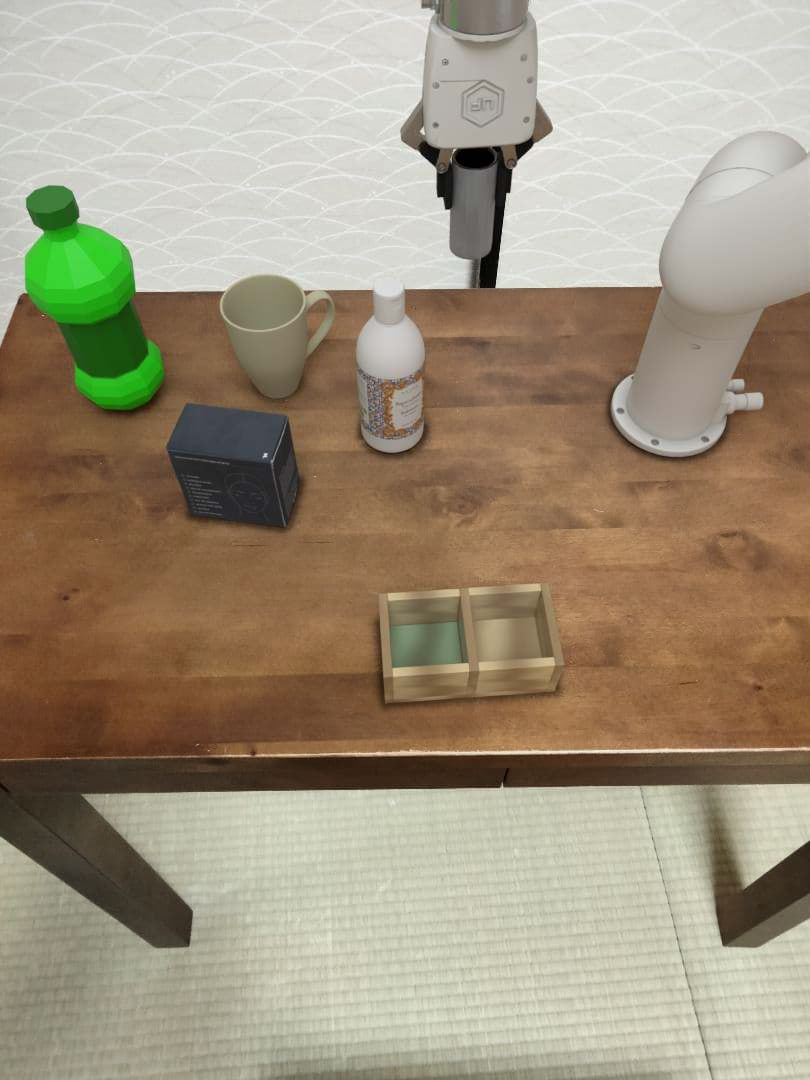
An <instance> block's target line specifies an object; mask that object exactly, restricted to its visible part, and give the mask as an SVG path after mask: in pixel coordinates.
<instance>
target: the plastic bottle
mask: <svg viewBox="0 0 810 1080" xmlns="http://www.w3.org/2000/svg"><path fill="white" fill-rule="evenodd" d="M25 208H26V210H27V213H28V215H29V217H30V219H31V222H32V224H33V225H34V226H35V227H37V228H39V229H40V230H42V231H43V233H42V234H41V236H39V238H38V239H37V240H36V241H35V242H34V244H33V245H32V246H31V247H30V249H29V250H28V251H27V253H26V254H25V255H24V289H25V291H26V293H27V295H28V297H29V299H30V300H31V302H32V303H33V304H34V305H35V307H37V309H38V310H40V311H41V312H43V313H44V314H45V315H47V316H48V317H50V318H51V319H52V320H54V321H55V322H56V324H57V326H58V328H59V330H60V332H61V334H62V337H63V340H64V341H65V343H66V345H67V347H68V349H69V352H70V354H71V356H72V358H73V360H74V363H73V365H74V366H73V367H74V384H75V386H76V387H77V390H78V391H79V392H80V393H81V394H82V395H84V396H85V397H86V398H87V399H89V400H90V401H91V402H93V403H94V404H95V405H97V406H99V407H100V408H101V409H104V410H115V411H116V410H117V411H132V410H135V409H137V408H140V407H142V406H144V405H145V404H146V403H148V402H150V400H151V399H152V398H153V396H154V395H155V393H157V391H158V390H159V389H160V387H162V385H163V383H164V378H165V369H164V363H163V362H164V361H163V356H162V353H161V350H160V348H159V347H158V346H157V345H156V344H155V343H154V342H153V341H151V340H150V339H149V338H147V336H146V334H145V330H144V328H143V325H142V323H141V322H142V321H141V320H140V317H139V314H138V311H137V307H136V306H135V302H134V300H133V296H134V295H135V294H136V293H137V288H136V279H135V278H136V277H135V271H134V270H135V269H134V262H133V258H132V255H131V252H130V250H129V249H128V247H127V246H126V245H125V244H124V243H123V242H122V241H121V240H120V239H119V238H116V237H115V236H114V235H112V234H110V233H108V232H107V231H105V230H103V229H102V228H100V227H96V226H93V225H90V224H86V223H82V222H78V219H79V218H80V217H81V216H80V208H79V205H78V203H77V200H76V198H75V194H74V191H73V190H71V189H69V188H67V187H66V186H64V185H52V184H51V185H45V186H43V187H39V188H36V189H34V190H33V191H32V192H31V193H30V194H29V195H28V196H26V197H25Z"/></svg>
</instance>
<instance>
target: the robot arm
mask: <svg viewBox="0 0 810 1080" xmlns="http://www.w3.org/2000/svg"><path fill="white" fill-rule="evenodd" d="M420 9H421V10H422V9H423V10H424V9H429V10H430V11H434V13H433V15H432V16H431V17H430V21H429V26H428V32H427V36H426V43H425V50H424V51H425V52H424V59H423V62H424V63H423V73H422V74H423V75H422V94H421V99H420V100H419V101H418V103H417V105H416V106H415V107H414V109H413V110H412V112H411V113H410V115H409V116H408V117H407V119H406V120H405V121H404V123H403V125H402V126H401V127H400V129H399V134H400V140H401V142H402V143H404V144H405V145H407V146H408V147H409V148H411V149H413V150H415V151H416V152H417V151H418V152H419V154H420V156H421V157H423V158H424V159H425V160H426V161H428V162H429V163H430V164H431V165H432V166H433V167H434V168H435V171H436V182H435V183H436V184H435V185H436V186H435V187H436V198H439V199H440V198H442V199H443V206H444V210H445V211H450V208H452V199H453V171H452V166H451V161H452V154H453V152H454V150H456V149H463V148H480V147H490V148H493V147H500V150H499V151H498V152H496V153H497V155H498V169H497V182H496V195H495V206H498V207H504V206H505V200H506V199H505V198H506V194H511V191H512V181H513V170H514V169H515V168H516V167H517V166H518V161H520V160H521V159H522V158H523V157H524V155H526V154H527V153H529V151H530V150H531V149H533V147H534V145H535V144H536V143H539V142H540V141H542V140H543V139H544V138H546V137H547V136H549V135H550V134H551V133H552V132H553V131H554V126H553V123H552V120H551V118H550V116H549V115H548V113H547V111H546V110H545V108H544V107H543V106H542V104H541V102H540V101H539V100H538V98H537V97H538V96H537V95H538V93H537V92H538V69H539V67H538V66H539V47H538V45H539V44H538V30H537V22H536V19H535V18H534V17H533V14H532V13H531V12H530V11H529V0H420ZM422 129H423V131H424V134H423V132H421V131H422ZM687 194H688V195H687V196H686V198H685V199H684V202H683V204H682V206H681V207H680V209H679V211H678V213H677V214H676V215H675V218H674V219H673V221H672V223H671V225H670V227H669V229H668V230H667V233H666V235H665V237H664V239H663V243H662V245H661V249H660V252H659V259H658V273H659V279H660V283H661V286H662V288H661V291H660V293H659V296H658V298H657V302H656V306H655V308H654V311H653V315H652V318H651V321H650V324H649V327H648V331H647V334H646V337H645V340H644V343H643V346H642V349H641V351H640V356H639V358H638V361H637V364H636V368H635V371H634V372H633V373H632V374H630V375H628V376H626V377H625V378H624V379H622V380H621V381H620V382H619V383H618V385H617V387H616V388H615V389H614V392H613V394H612V398H611V401H610V415H611V419H612V421H613V423H614V425H615V427H616V429H617V430H618V431H619V432H620V434H621V435H622V436H623V437H624V438H625V439H627V441H629V442H630V443H631V444H633V445H634V446H636V447H638V448H640V449H642V450H644V451H646V452H648V453H651V454H655V455H658V456H661V457H662V456H663V457H669V458H684V457H692V456H695V455H699V454H701V453H704V452H706V451H707V450H709V449H710V448H712V447H713V446H714V445H716V443H717V442H718V441H719V439H720V438H721V437H722V435H723V433H724V430H725V428H726V424H727V415H733V414H734V412H735V411H743V412H746V411H747V412H748V411H760V410H762V408H763V406H764V395H763V393H762V392H744V393H740V394H739V393H738V394H735V393H736V392H743V391H744V390H745V385H746V384H745V380H744V379H743V378H737V379H735V378H734V379H733V376H734V373H735V371H736V370H737V367H738V365H739V362H740V360H741V358H742V356H743V354H744V352H745V350H746V348H747V345H748V343H749V341H750V339H751V337H752V334H753V332H754V330H755V328H756V326H757V324H758V323H759V320H760V319H761V316H762V314H763V312H764V310H765V308H767V307H771V306H775V305H777V304H779V303H782V302H787V301H789V300H792V299H794V298H798V297H800V296H803V295H806V294H809V293H810V149H809V150H808V152H807V151H806V149H805V148H804V147H803V145H801V144H800V142H798V141H797V140H796V139H794V138H793V137H792V136H789V135H787V134H785V133H782V132H779V131H773V130H757V131H753V132H748V133H745V134H743V135H740V136H738V137H736V138H734V139H732V140H731V141H730V142H727V143H725V145H724V146H722V147H721V148H720V149H719V150H718V151H717V152H716V153H715V154H714V155H713V156H712V157H711V158H710V160H708V162H707V163H706V164H705V166H704V167H703V169H702V170H701V172H700V174H699V175H698V177H697V179H696V181H695V182H694V184H693V185H692V187H691V189H690V190H689V192H688V193H687Z"/></svg>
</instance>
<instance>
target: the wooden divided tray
mask: <svg viewBox="0 0 810 1080" xmlns="http://www.w3.org/2000/svg"><path fill="white" fill-rule="evenodd" d="M550 588H551V587H550V583H549V582H541V583H540V582H538V583H522V584H508V585H507V584H506V585H491V586H476V587H463V588H462V587H461V588H447V589H446V588H445V589H433V590H431V589H430V590H416V591H401V592H386V593H382V592H381V593H377V600H378V612H379V614H378V616H379V631H380V646H381V647H380V649H381V662H382V663H381V664H382V665H381V666H382V679H383V693H384V703H385V704H396V703H412V702H425V701H426V702H427V701H437V700H438V701H439V700H441V701H442V700H454V699H467V698H481V697H482V698H483V697H496V696H509V695H510V696H512V695H525V694H527V695H528V694H538V693H540V694H541V693H553V692H556V689H557V686H558V684H559V681H560V679H561V675H562V673H563V670H564V668H565V659H564V655H563V649H562V644H561V643H562V642H561V639H560V634H559V629H558V623H557V618H556V614H555V608H554V603H553V602H554V601H553V599H552V593H551V589H550Z"/></svg>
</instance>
